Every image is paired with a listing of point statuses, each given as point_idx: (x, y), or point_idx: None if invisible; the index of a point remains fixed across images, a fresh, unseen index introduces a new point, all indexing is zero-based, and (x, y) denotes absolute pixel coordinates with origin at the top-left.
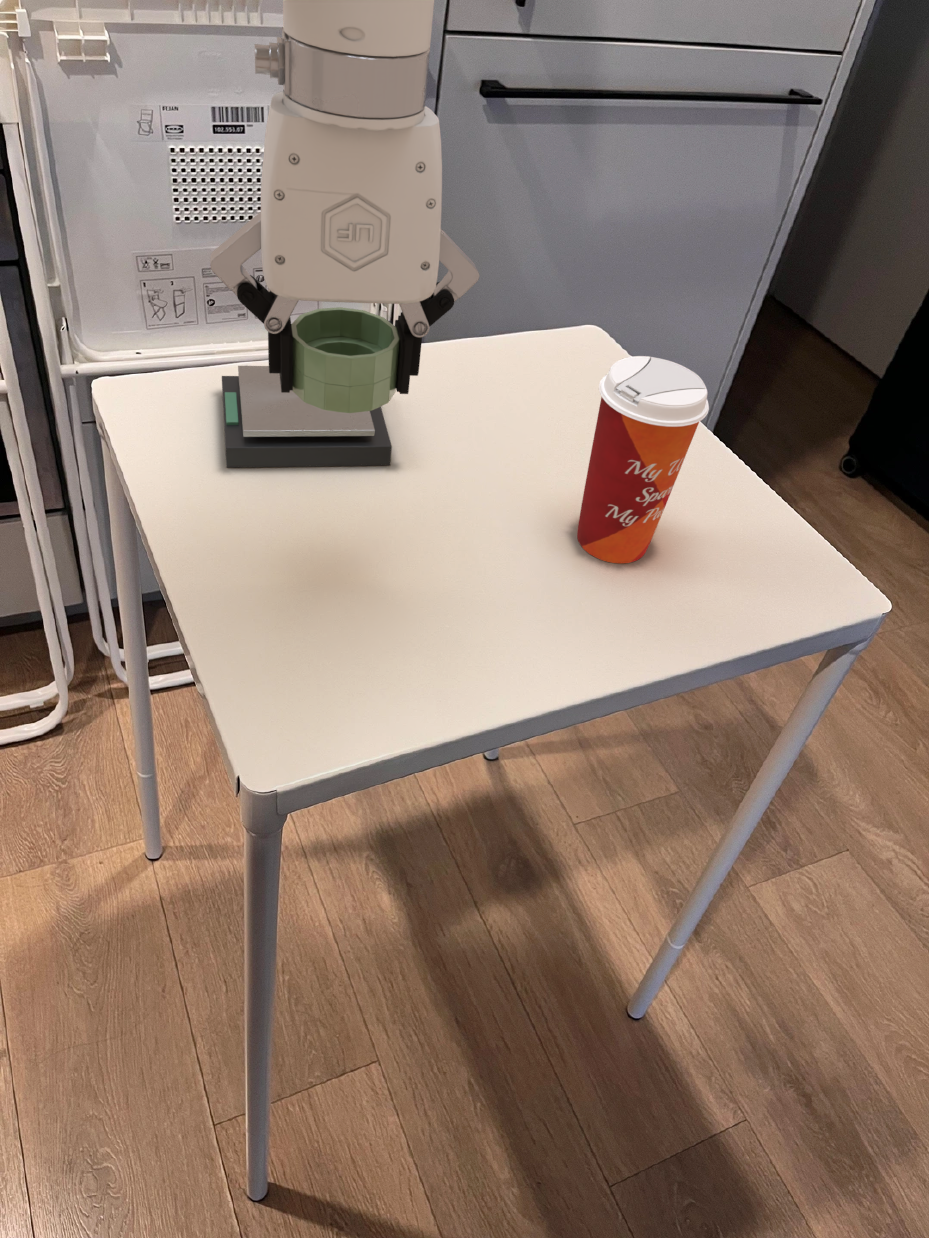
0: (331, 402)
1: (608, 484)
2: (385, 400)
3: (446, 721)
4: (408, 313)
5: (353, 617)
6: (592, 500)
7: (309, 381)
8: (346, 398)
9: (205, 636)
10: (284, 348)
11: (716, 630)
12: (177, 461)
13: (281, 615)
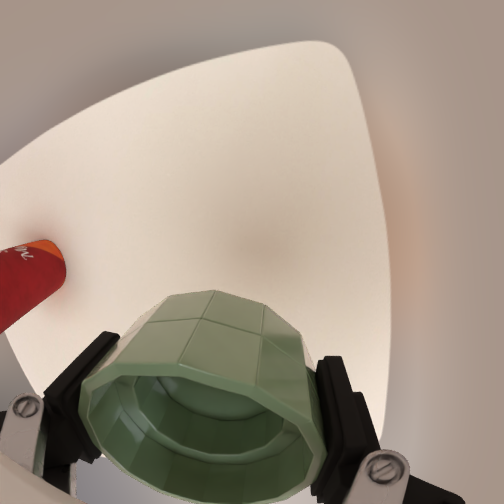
0: (249, 307)
1: (16, 267)
2: (141, 316)
3: (193, 74)
4: (27, 439)
5: (245, 191)
6: (36, 272)
7: (294, 355)
8: (214, 305)
9: (370, 185)
10: (354, 421)
11: (18, 171)
12: (354, 391)
13: (308, 201)
